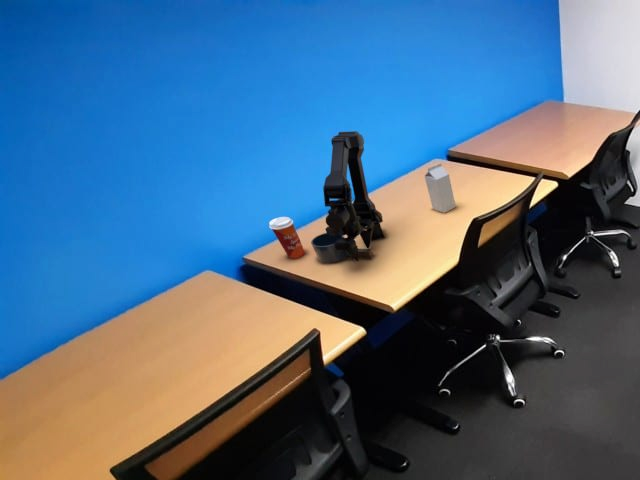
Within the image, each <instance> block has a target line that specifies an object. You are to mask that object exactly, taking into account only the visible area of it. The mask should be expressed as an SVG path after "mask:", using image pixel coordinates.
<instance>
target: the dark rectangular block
mask: <svg viewBox="0 0 640 480" xmlns="http://www.w3.org/2000/svg"><path fill="white" fill-rule="evenodd" d="M358 257H359V259H363V260H365V259H366V260H372V259H373V258H374V257H375V256H374V252H373V250H372V248H358Z"/></svg>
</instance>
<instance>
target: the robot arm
mask: <svg viewBox="0 0 640 480" xmlns="http://www.w3.org/2000/svg"><path fill="white" fill-rule="evenodd" d="M330 140H331V141H330V143H331V145H332V151H331V152H332V153H331V159H330V160H331V162H330V172H329V174H328V175H327V176H326V177H325V180H324V184H323V187H322V190H323V202H324V207H326V208H327V207H328V208H329V209H328V210H327V215H326V217H325V223H326V226H327V227H325V233H327V234H328V235H329V236H333V237H334V236H335V235H338V234H341V235H344V236H347V237H344V238H339V239H338V240H337V241H336V242H335V243H334V247H335V249H336V250H344V251H346V252H347V253H348V254H349V257H350V258H351V259H353V260H354V262H359V259H360V258H359V257H358V247H359V246H358V245H357V241H356V239H357V238H358V237H359V236H360V238H361V241H362V242H363V244H364V246H365V249H371V243H372V241H375V240H379V239H384V238H385V236H386V235H385V234H384V231H383V228H382V226H381V224H382V223H383V222H384V220H383V215H382V213H381V212H380V211H378V209H376V205H375V203H374V202H373V201H372V200H371V199H370V197H369V193H368V187H367V181H366V177H365V172H364V165H363V161H362V157H363V154H364V151H365V146H364V145H365V140H364V137H363V135H362V134H361V133H360V132H359V131H357V130H354V131H353V130H352V131H351V130H350V131H338V133H337V134H336V135H333V136H332V138H331V139H330ZM348 172H349V176H350V181H351V183H350V182H349V180H348ZM351 186H352V188H351ZM352 191H353V194H352ZM352 195H354V200H352V199H353V197H352ZM352 201H353V202H352Z"/></svg>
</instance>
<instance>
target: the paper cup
mask: <svg viewBox="0 0 640 480" xmlns="http://www.w3.org/2000/svg"><path fill="white" fill-rule="evenodd" d="M268 224H269V229H271V230H272V232H273V233H274V235H275V237H276V238H277V240H278V243H280V245H281V247H282V249H283V250H284V252H285V254H286V255H287V257H288V258H290V259H298V258H301V257H303V256H305V254H306V252H305V249H304V246H303V244H302V242H301V239H300V237H299V235H298V232H297V229H296V227H295V225H294V220H293V219H292V218H290V217H288V216H279V217H275V218H273V219H272V220H270V221H269V223H268Z"/></svg>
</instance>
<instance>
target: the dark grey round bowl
mask: <svg viewBox="0 0 640 480" xmlns="http://www.w3.org/2000/svg"><path fill="white" fill-rule="evenodd" d="M339 238H345V235H341V234H338V235H335V236H334V237H333V236H329V235H328V234H327V233H326V232H323V233H321V234H318V235H316V236H315V237H313V238H312V239H311V241H310V244H311V246H312V248H313V251H314V253H315V255H316V257H317V259H318V261H319V262H320V263H323V264H335V263H339V262H342V261H344V260H346V259H347V258H348V257H350V255H349V254H348V253H347V252H346V251H344V250H336V249H335V247H334V243H335V242H336V241H337V240H338V239H339Z"/></svg>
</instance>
